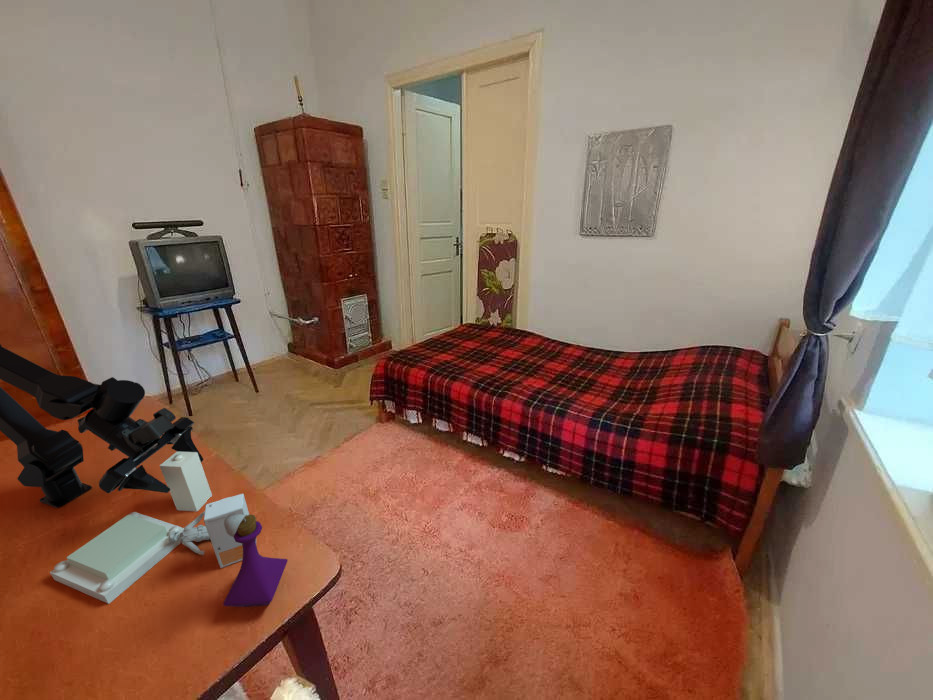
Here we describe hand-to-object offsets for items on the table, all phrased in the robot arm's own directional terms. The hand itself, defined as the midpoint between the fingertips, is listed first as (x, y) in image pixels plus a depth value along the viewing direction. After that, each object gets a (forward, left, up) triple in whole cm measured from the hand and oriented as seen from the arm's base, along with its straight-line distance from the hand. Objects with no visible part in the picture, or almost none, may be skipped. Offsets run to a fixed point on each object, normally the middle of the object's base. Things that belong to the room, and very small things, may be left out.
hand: (186, 475), depth 80 cm
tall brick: (0, 0, -8) cm, 8 cm away
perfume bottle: (+30, -12, -8) cm, 33 cm away
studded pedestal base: (0, -14, -8) cm, 16 cm away
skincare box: (+20, -7, -8) cm, 22 cm away
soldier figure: (+12, -6, -8) cm, 15 cm away
